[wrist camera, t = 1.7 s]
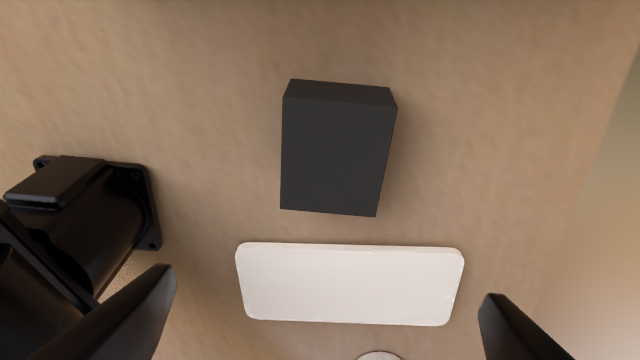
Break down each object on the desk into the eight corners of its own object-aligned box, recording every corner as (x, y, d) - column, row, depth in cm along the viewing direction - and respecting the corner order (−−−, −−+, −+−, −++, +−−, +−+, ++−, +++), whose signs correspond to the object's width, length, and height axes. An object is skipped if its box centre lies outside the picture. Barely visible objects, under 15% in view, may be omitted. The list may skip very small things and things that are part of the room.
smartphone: (232, 247, 22) (467, 253, 22) (235, 239, 23) (464, 245, 22) (246, 319, 26) (447, 327, 25) (248, 311, 27) (444, 318, 26)
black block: (370, 187, 21) (375, 217, 18) (287, 179, 20) (279, 209, 18) (389, 87, 17) (398, 107, 15) (290, 78, 17) (282, 96, 15)
